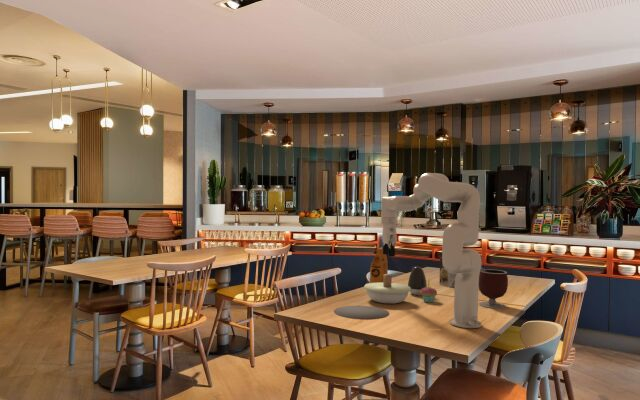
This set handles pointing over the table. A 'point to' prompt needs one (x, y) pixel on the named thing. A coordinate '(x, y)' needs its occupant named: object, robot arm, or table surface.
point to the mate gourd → (492, 286)
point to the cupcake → (428, 293)
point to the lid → (387, 286)
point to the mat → (361, 312)
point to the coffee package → (378, 267)
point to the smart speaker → (417, 280)
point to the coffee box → (446, 276)
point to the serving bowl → (387, 297)
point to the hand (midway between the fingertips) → (388, 255)
